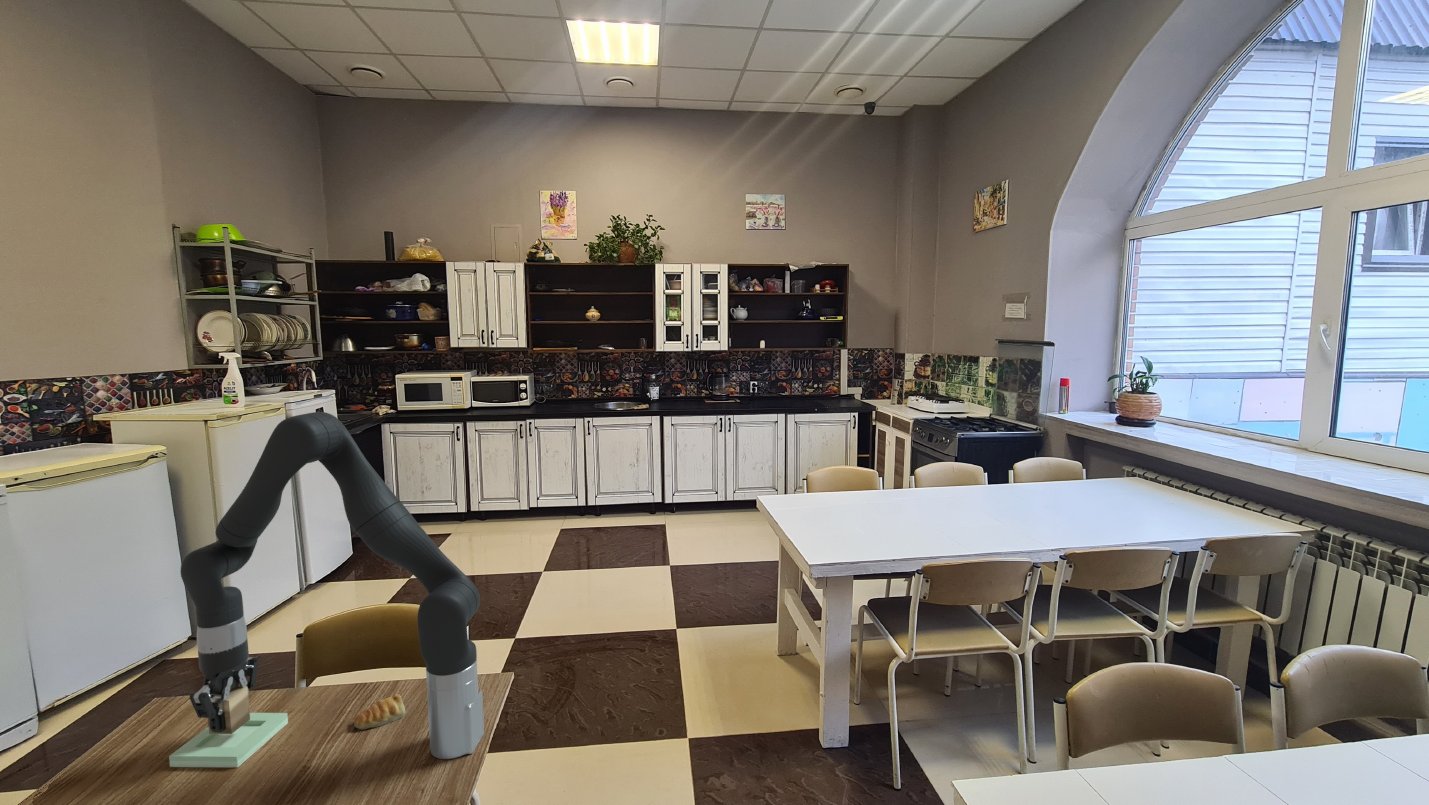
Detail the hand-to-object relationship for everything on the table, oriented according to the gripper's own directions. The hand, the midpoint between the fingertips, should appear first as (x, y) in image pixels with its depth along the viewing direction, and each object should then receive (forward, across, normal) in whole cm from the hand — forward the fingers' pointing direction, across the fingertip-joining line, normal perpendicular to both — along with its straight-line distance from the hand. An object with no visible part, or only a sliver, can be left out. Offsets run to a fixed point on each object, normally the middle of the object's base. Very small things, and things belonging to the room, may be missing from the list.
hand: (230, 722), depth 117 cm
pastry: (+5, +8, -26) cm, 28 cm away
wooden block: (+1, 0, 0) cm, 1 cm away
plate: (+5, 0, 0) cm, 5 cm away
